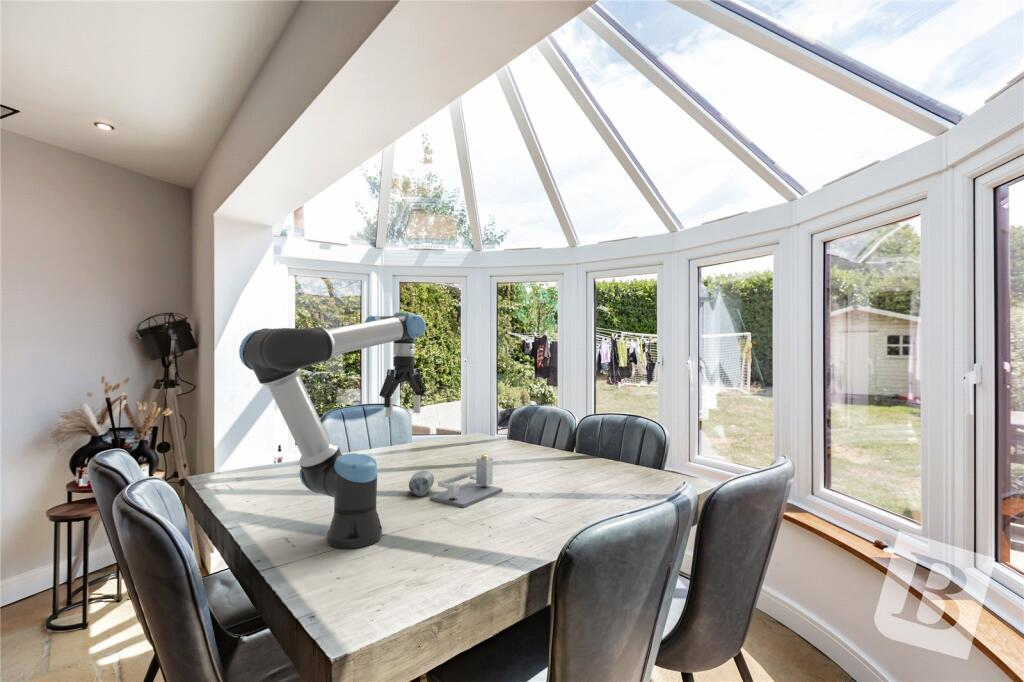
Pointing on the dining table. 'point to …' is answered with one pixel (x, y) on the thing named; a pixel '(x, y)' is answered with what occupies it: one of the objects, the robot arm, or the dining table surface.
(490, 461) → the post
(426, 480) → the grey rounded oval lump
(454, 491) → the dividers frame
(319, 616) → the dining table surface
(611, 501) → the dining table surface
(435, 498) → the flange plate
